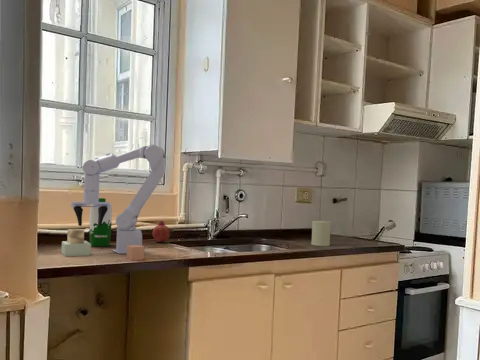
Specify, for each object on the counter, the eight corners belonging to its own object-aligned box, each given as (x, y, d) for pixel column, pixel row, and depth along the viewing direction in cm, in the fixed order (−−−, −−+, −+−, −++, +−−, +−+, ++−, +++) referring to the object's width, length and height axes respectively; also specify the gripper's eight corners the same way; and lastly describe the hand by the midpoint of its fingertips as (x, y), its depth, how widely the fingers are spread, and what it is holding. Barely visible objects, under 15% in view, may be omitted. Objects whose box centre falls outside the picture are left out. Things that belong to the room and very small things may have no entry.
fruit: (148, 242, 211) (149, 220, 211) (157, 240, 219) (157, 219, 219) (164, 244, 209) (165, 222, 209) (172, 242, 217) (173, 220, 217)
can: (326, 246, 223) (327, 221, 223) (308, 244, 227) (309, 220, 227) (332, 244, 231) (333, 220, 231) (315, 243, 235) (315, 219, 235)
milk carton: (108, 243, 202) (110, 198, 202) (111, 246, 194) (113, 199, 194) (87, 244, 199) (89, 197, 199) (90, 247, 190) (92, 198, 191)
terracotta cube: (139, 257, 170) (139, 244, 170) (144, 259, 166) (144, 246, 166) (126, 258, 167) (127, 245, 167) (131, 260, 163) (131, 247, 163)
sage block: (85, 252, 179) (86, 240, 179) (90, 255, 171) (90, 243, 171) (61, 253, 175) (61, 241, 175) (64, 256, 167) (65, 244, 167)
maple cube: (80, 241, 176) (80, 229, 176) (83, 243, 172) (84, 230, 172) (67, 242, 173) (67, 229, 173) (70, 243, 169) (70, 230, 169)
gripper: (106, 191, 189) (105, 224, 189) (69, 190, 181) (68, 224, 181) (112, 191, 183) (110, 225, 183) (74, 190, 175) (72, 226, 175)
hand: (89, 225), depth 181 cm, fingers open, 7 cm apart
